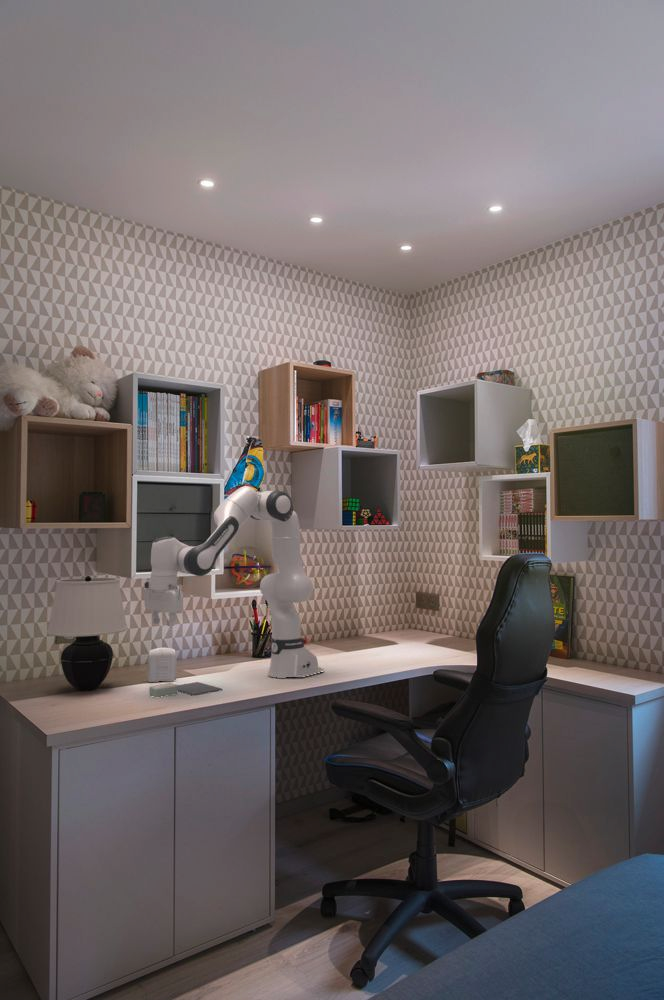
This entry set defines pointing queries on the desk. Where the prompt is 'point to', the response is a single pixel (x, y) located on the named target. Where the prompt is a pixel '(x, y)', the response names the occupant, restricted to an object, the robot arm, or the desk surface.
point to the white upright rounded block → (161, 665)
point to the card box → (163, 690)
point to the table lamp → (87, 627)
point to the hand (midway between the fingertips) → (163, 624)
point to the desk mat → (196, 688)
